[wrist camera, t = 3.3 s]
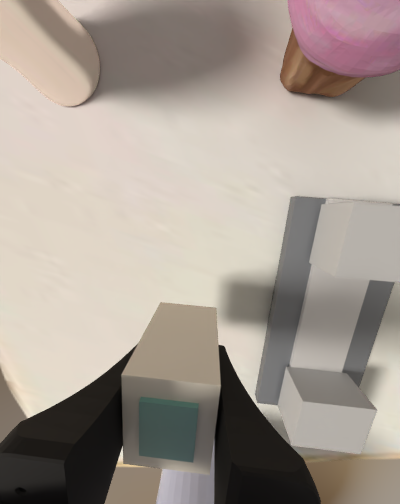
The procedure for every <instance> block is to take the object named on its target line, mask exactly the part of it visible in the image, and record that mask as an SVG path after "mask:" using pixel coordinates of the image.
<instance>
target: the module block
mask: <svg viewBox="0 0 400 504" xmlns="http://www.w3.org/2000/svg"><path fill="white" fill-rule="evenodd" d="M121 377H122V422H123V464H130V465H138V466H146V467H153V468H161V469H168V470H176V471H183V472H191V473H199V474H206V475H210V468H211V460H212V452H213V444H214V436H215V428H216V420H217V412H218V404H219V396H220V388H221V381H220V364H219V347H218V330H217V313H216V308H213V307H203V306H193V305H182V304H172V303H162V302H161V303H160V304H159V306H158V308H157V310H156V312H155V314H154V315H153V317H152V319H151V321H150V323H149V325H148V327H147V328H146V330H145V332H144V334H143V336H142V338H141V339H140V341H139V343H138V345H137V347H136V349H135V350H134V352H133V354H132V356H131V358H130V360H129V362H128V363H127V365H126V367H125V369H124V371H123V373H122V374H121Z"/></svg>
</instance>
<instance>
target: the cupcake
mask: <svg viewBox="0 0 400 504" xmlns="http://www.w3.org/2000/svg"><path fill="white" fill-rule="evenodd" d="M288 8H289V14H290V19H291V23H292V27H293V28H292V32H291V35H290V39H289V42H288V45H287V49H286V52H285V56H284V60H283V67H282V70H281V74H280V80H281V82H282V84H283V85H284V87H285V88H286V89H287V90H288V91H294V92H302V93H306V94H312V93H314V94H321V95H324V96H328V97H335V96H339V95H341V94H343V93H345V92H346V91H348V90H349V89H351V88H352V87H354V86H355V85H356V84H358V83H359V82H360V81H362V80H363V79H364V78H366V77H377V76H383V75H386V74H390V73H393V72H395V71H397V70H400V0H288Z"/></svg>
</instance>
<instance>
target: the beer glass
mask: <svg viewBox="0 0 400 504" xmlns="http://www.w3.org/2000/svg"><path fill="white" fill-rule="evenodd" d="M0 59H1V60H2V61H4V62H6V63H7V64H9V65H10V66H11V67H13V68H14V69H15V70H16V71H18V72H19V73H20V74H21V75H22V76H23V77H24V78H25V79H26V80H27V81H28V82H30V83H31V84H32V85H33V86H34V87H35V88H36V89H37V90H38V91H39V92H40V93H41V94H42V95H43V96H45V97H46V98H47V99H49V100H50V101H52V102H54V103H56V104H58V105H61V106H68V107H70V106H76V105H79V104H82V103H83V102H85V101H86V100H87V99H88V98H89V97H90V96H91V95H92V94H93V92H94V91H95V89H96V86H97V84H98V80H99V75H100V61H99V55H98V51H97V48H96V46H95V44H94V42H93V40H92V38H91V36H90V35H89V33H88V32H87V31H86V29H85V28H84V27H83V26H82V25H81V24H80V23H79V21H78V20H77V19H76V18H75V17H74V16H73V15H72V14H71V13H70V12H69V11H68V10H67V9H66V8H65V7H64V6H63V5H62V4H61V3H60V1H59V0H0Z"/></svg>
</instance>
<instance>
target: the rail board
mask: <svg viewBox="0 0 400 504" xmlns="http://www.w3.org/2000/svg"><path fill="white" fill-rule="evenodd" d="M394 282H399V283H400V204H393V203H384V202H371V201H358V200H344V199H331V198H328V199H324V198H311V197H298V196H295V197H291V199H290V205H289V210H288V216H287V221H286V227H285V232H284V238H283V243H282V249H281V254H280V260H279V266H278V271H277V277H276V282H275V288H274V293H273V299H272V304H271V310H270V315H269V321H268V326H267V332H266V337H265V343H264V348H263V354H262V359H261V365H260V370H259V376H258V381H257V387H256V392H255V395H256V400H257V403H262V404H271V405H278V408H279V411H280V414H281V417H282V419H283V422H284V425H285V428H286V431H287V434H288V437H289V440H290V443H291V446H299V447H307V448H314V449H322V450H330V451H338V452H346V453H354V454H361V452H362V449H363V447H364V444H365V442H366V439H367V436H368V434H369V431H370V428H371V426H372V423H373V420H374V418H375V415H376V412H377V409H376V408H375V407H374V405H373V404H372V403H371V402H370V401H369V399H368V398H367V397H366V396H365V395H364V393H363V392H362V391H361V390H360V389H359V386H360V383H361V380H362V377H363V374H364V371H365V368H366V365H367V362H368V359H369V356H370V353H371V350H372V347H373V344H374V341H375V338H376V335H377V332H378V329H379V326H380V323H381V320H382V317H383V314H384V311H385V308H386V305H387V302H388V299H389V296H390V293H391V291H392V288H393V285H394Z"/></svg>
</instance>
